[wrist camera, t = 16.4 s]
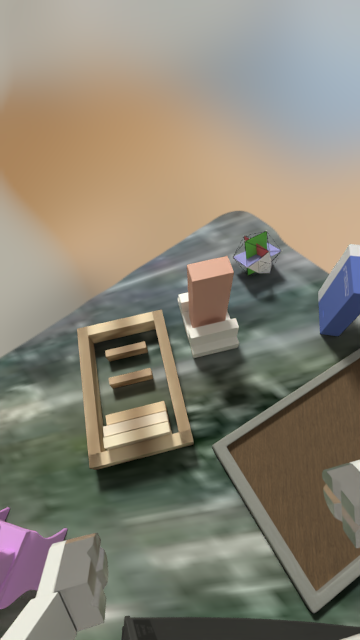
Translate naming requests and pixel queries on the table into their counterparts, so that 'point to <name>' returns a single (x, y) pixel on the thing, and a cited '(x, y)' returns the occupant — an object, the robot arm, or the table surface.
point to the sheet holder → (208, 332)
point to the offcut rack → (139, 423)
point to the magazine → (230, 629)
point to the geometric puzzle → (257, 254)
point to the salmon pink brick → (209, 290)
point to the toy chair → (21, 559)
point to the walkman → (341, 294)
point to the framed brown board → (302, 478)
